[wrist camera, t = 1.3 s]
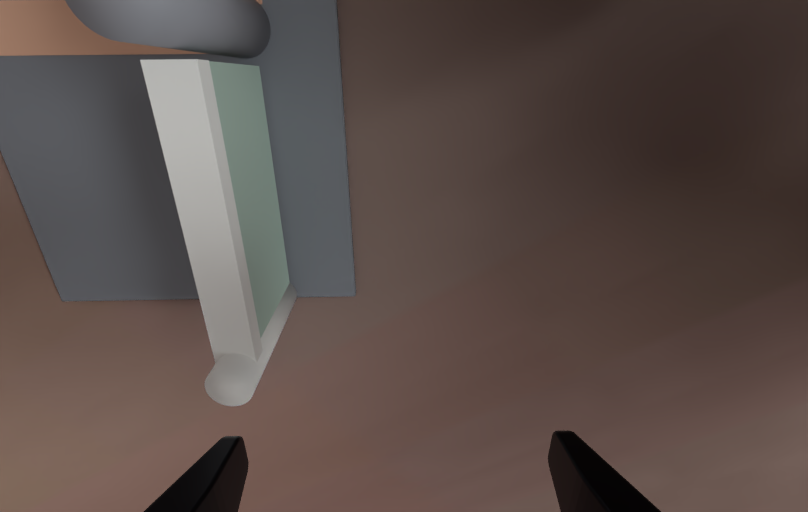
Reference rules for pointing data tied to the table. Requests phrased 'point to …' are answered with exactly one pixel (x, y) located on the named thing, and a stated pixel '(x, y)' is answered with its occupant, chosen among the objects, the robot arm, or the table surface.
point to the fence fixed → (180, 24)
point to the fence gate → (225, 211)
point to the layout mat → (143, 157)
